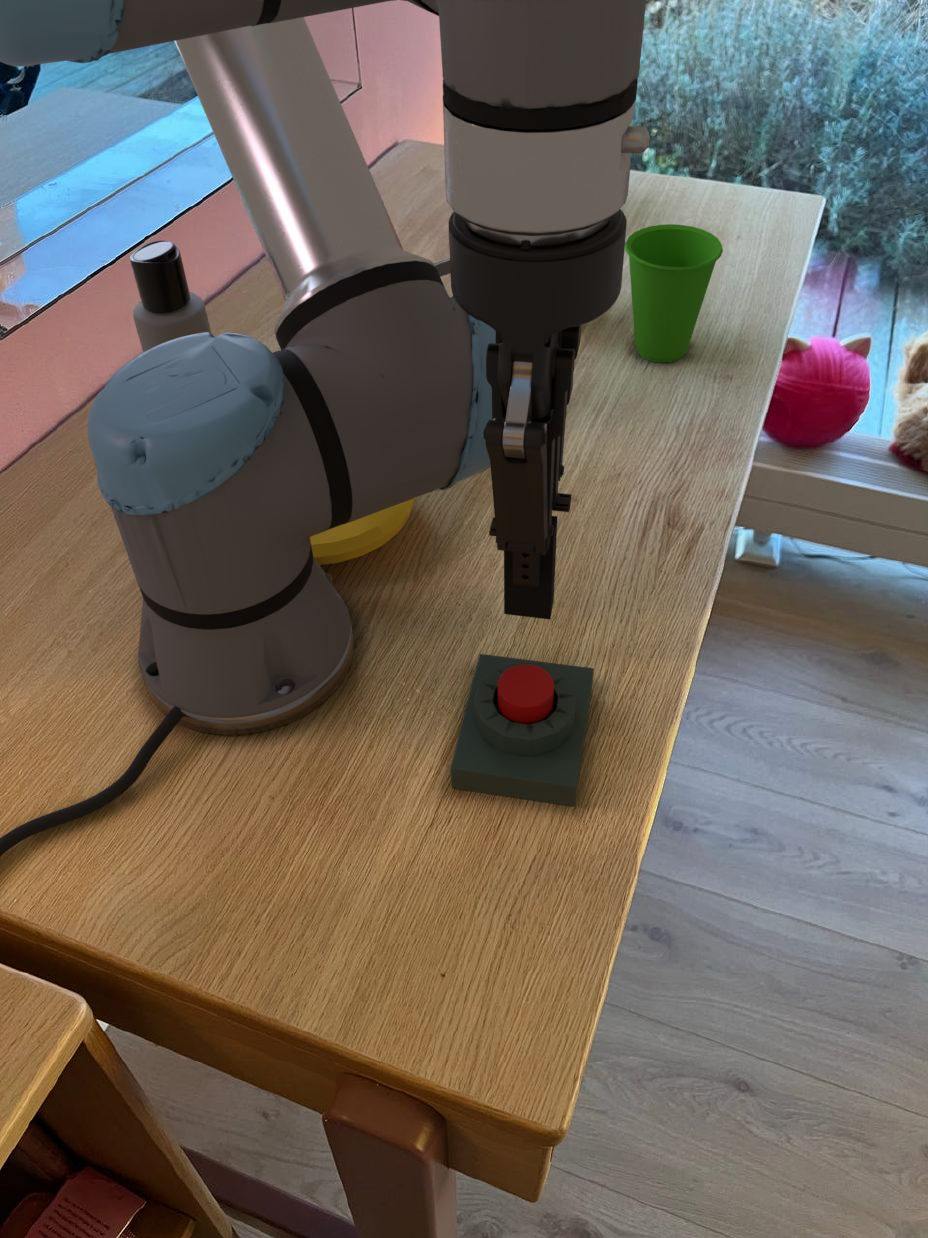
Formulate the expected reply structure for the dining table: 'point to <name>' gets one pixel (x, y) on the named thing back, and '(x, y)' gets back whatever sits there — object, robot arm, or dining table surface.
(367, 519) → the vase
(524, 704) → the button
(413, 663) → the dining table surface
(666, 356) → the cup
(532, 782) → the button box
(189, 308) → the lotion bottle
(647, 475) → the dining table surface
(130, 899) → the dining table surface
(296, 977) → the dining table surface
